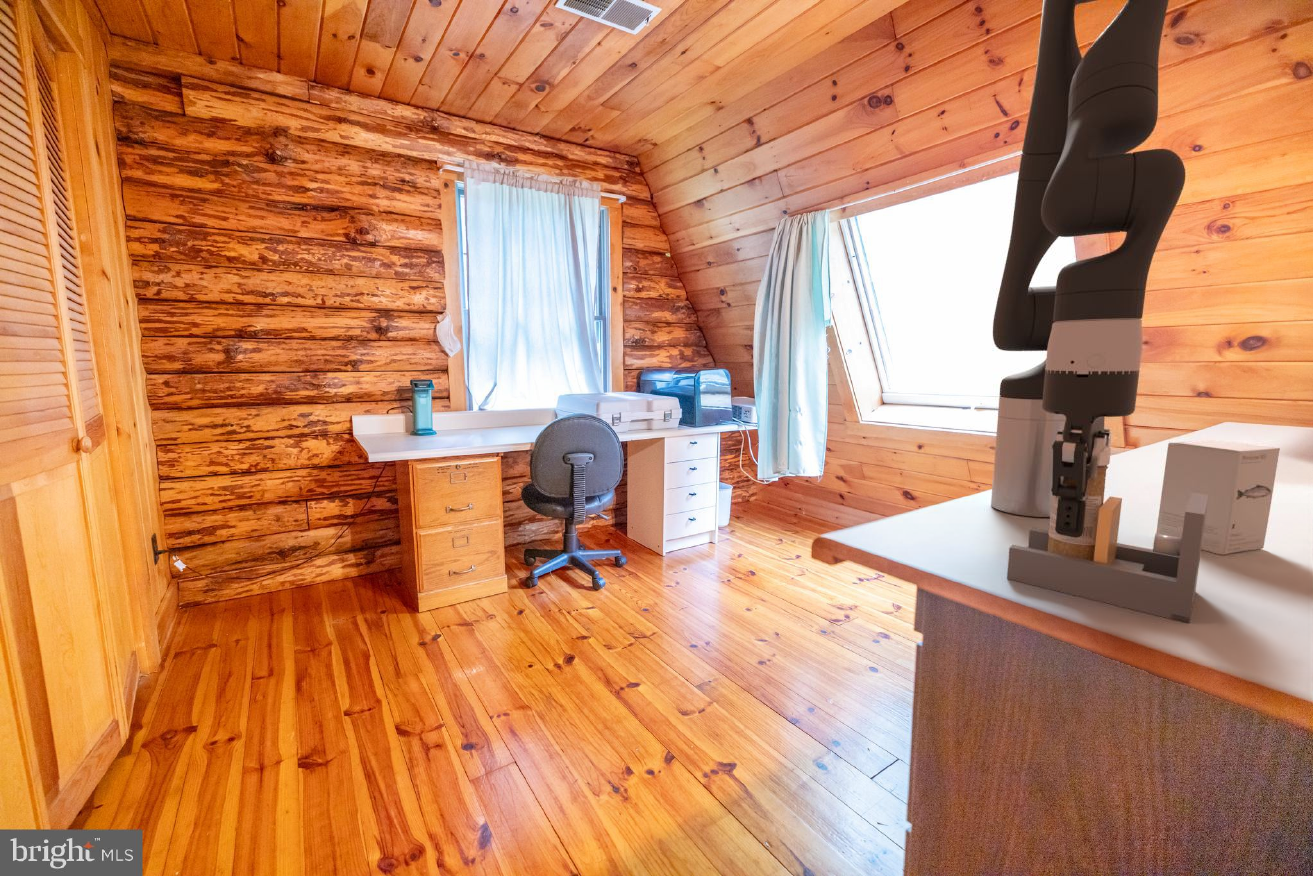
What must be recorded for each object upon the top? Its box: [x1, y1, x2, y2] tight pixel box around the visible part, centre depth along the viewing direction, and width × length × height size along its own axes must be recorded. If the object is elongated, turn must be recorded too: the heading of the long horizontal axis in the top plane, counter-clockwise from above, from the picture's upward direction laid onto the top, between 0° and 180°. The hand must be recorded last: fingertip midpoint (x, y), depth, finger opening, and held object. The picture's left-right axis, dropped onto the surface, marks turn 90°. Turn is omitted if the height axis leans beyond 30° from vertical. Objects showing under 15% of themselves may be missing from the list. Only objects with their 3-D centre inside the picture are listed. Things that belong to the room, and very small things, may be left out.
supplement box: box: [1155, 439, 1281, 556], centre depth 68 cm, size 7×7×13 cm
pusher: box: [1094, 496, 1144, 571], centre depth 56 cm, size 6×3×8 cm, turn 134°
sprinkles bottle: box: [1048, 445, 1111, 561], centre depth 58 cm, size 5×5×13 cm
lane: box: [1006, 493, 1209, 624], centre depth 57 cm, size 9×14×10 cm, turn 44°
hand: (1073, 529), depth 59 cm, fingers closed on sprinkles bottle, 4 cm apart
